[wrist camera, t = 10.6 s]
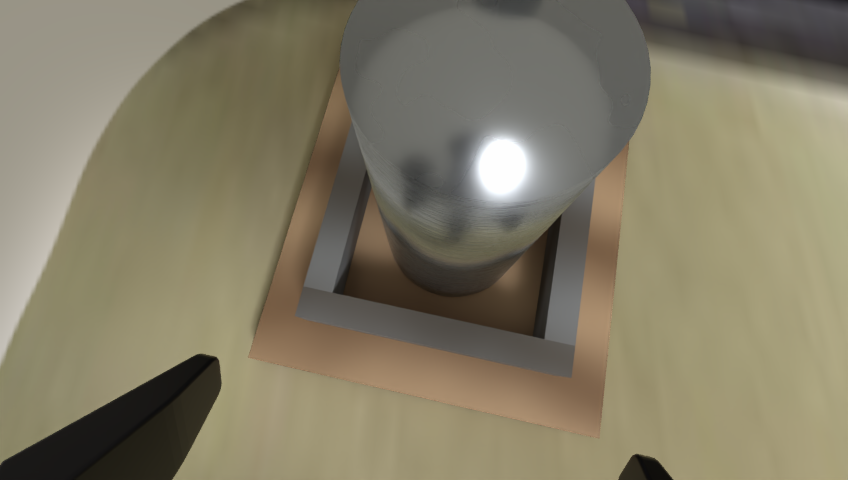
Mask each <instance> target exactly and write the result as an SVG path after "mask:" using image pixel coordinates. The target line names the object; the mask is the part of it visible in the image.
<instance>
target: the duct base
mask: <svg viewBox="0 0 848 480" xmlns="http://www.w3.org/2000/svg"><path fill="white" fill-rule="evenodd" d="M628 147H629V141H628V143H627V144H626V146H625V147H624V148H623V150H622V151H621V152H620V153H619V154H618V155H617V156H616V157H615V158H614V159H613V160H612V161H611V162H610V163H609V165H608V166H607V167H606V168H605V169H604V170H603V171H602V172H601V173H600V174H599V175H598V176H597V177H596V178H595V179H594V180H593V181H592V182H591V183H590V185H589V186H588V187H587V188H586V189H585V190H584V191H583V192H582V193H581V194H580V195H579V196H578V197H577V198H576V199H575V200H574V201H573V202H572V204H571V205H570V206H569V207H568V208H567V209H566V210H565V211H564V212H563V213H562V214H561V215H560V216H559V217H558V218H557V219H556V220H555V221H554V222H553V224H552V225H551V226H550V227H549V228H548V229H547V230H546V231H545V232H544V233H543V234H542V235H541V236H540V237H539V238H538V239H537V240H536V241H535V243H534V244H533V245H532V246H531V247H530V248H529V249H528V250H527V251H526V252H525V253H524V254H523V255H522V256H521V257H520V258H519V259H518V260H517V261H516V263H515V264H514V265H513V266H512V267H511V268H510V269H509V270H508V271H507V272H506V273H505V274H504V275H503V276H502V277H501V278H500V279H499V280H498V281H497V282H496V283H494V284H493V285H492V286H490V287H488V288H487V289H485V290H483V291H481V292H478V293H476V294H472V295H468V296H460V297H448V296H442V295H438V294H434V293H431V292H429V291H426V290H424V289H422V288H421V287H419V286H417V285H416V284H414V283H413V282H412V281H411V280H409V279H408V278H407V277H406V275H405V274H404V273H403V272H402V271H401V269H400V268H399V267H398V265H397V263H396V261H395V260H394V257H393V255H392V252H391V249H390V246H389V242H388V239H387V236H386V232H385V229H384V226H383V222H382V219H381V216H380V212H379V209H378V206H377V202H376V199H375V196H374V192H373V189H372V186H371V182H370V179H369V176H368V172H367V169H366V166H365V162H364V159H363V156H362V152H361V149H360V146H359V142H358V139H357V136H356V132H355V129H354V126H353V122H352V119H351V116H350V112H349V109H348V106H347V102H346V99H345V95H344V91H343V87H342V82H341V74H340V67H339V70H338V73H337V77H336V80H335V83H334V86H333V89H332V92H331V96H330V99H329V102H328V105H327V108H326V111H325V115H324V118H323V121H322V124H321V127H320V131H319V134H318V137H317V140H316V143H315V146H314V150H313V153H312V156H311V159H310V162H309V166H308V169H307V172H306V175H305V178H304V181H303V185H302V188H301V191H300V194H299V197H298V200H297V204H296V207H295V210H294V213H293V216H292V220H291V223H290V226H289V229H288V232H287V235H286V239H285V242H284V245H283V248H282V251H281V254H280V258H279V261H278V264H277V267H276V270H275V274H274V277H273V280H272V283H271V286H270V289H269V293H268V296H267V299H266V302H265V305H264V309H263V312H262V315H261V318H260V321H259V324H258V328H257V331H256V334H255V337H254V340H253V343H252V347H251V350H250V353H249V356H248V358H252V359H256V360H261V361H265V362H269V363H274V364H278V365H282V366H287V367H291V368H295V369H300V370H304V371H308V372H313V373H317V374H321V375H326V376H330V377H334V378H339V379H343V380H347V381H352V382H356V383H360V384H365V385H369V386H373V387H378V388H382V389H386V390H391V391H395V392H399V393H404V394H408V395H412V396H417V397H421V398H425V399H430V400H434V401H438V402H443V403H447V404H451V405H456V406H460V407H465V408H469V409H473V410H478V411H482V412H486V413H491V414H495V415H499V416H504V417H508V418H512V419H517V420H521V421H525V422H530V423H534V424H538V425H543V426H547V427H551V428H556V429H560V430H564V431H569V432H573V433H577V434H582V435H586V436H590V437H595V438H599V436H600V426H601V416H602V406H603V396H604V386H605V376H606V366H607V356H608V346H609V336H610V326H611V316H612V306H613V296H614V286H615V277H616V267H617V257H618V247H619V237H620V227H621V217H622V207H623V197H624V187H625V177H626V167H627V157H628Z"/></svg>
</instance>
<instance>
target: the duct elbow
mask: <svg viewBox="0 0 848 480" xmlns="http://www.w3.org/2000/svg"><path fill="white" fill-rule="evenodd" d="M650 71H651V67H650V60H649V53H648V48H647V44H646V41H645V38H644V34H643V32H642V30H641V27H640V25H639V23H638V21H637V19H636V17H635V15H634V13H633V12H632V10H631V9H630V7H629V6H628V4H627V2H626V1H625V0H358V2H357V4H356V6H355V7H354V9H353V11H352V12H351V15H350V17H349V20H348V22H347V25H346V27H345V30H344V35H343V39H342V43H341V52H340V74H341V82H342V87H343V91H344V95H345V99H346V102H347V106H348V109H349V112H350V116H351V119H352V122H353V126H354V129H355V132H356V136H357V139H358V142H359V146H360V149H361V152H362V156H363V159H364V162H365V166H366V169H367V172H368V176H369V179H370V182H371V186H372V189H373V192H374V196H375V199H376V202H377V206H378V209H379V212H380V216H381V219H382V222H383V226H384V229H385V232H386V236H387V239H388V242H389V246H390V249H391V252H392V255H393V257H394V260H395V261H396V263H397V265H398V267H399V268H400V269H401V271H402V272H403V273H404V274H405V275H406V277H407V278H408V279H409V280H411V281H412V282H413V283H414V284H416V285H417V286H419V287H421V288H422V289H424V290H426V291H429V292H431V293H434V294H438V295H442V296H448V297H460V296H468V295H472V294H476V293H478V292H481V291H483V290H485V289H487V288H488V287H490V286H492V285H493V284H494V283H496V282H497V281H498V280H499V279H500V278H501V277H502V276H503V275H504V274H505V273H506V272H507V271H508V270H509V269H510V268H511V267H512V266H513V265H514V264H515V263H516V261H517V260H518V259H519V258H520V257H521V256H522V255H523V254H524V253H525V252H526V251H527V250H528V249H529V248H530V247H531V246H532V245H533V244H534V243H535V241H536V240H537V239H538V238H539V237H540V236H541V235H542V234H543V233H544V232H545V231H546V230H547V229H548V228H549V227H550V226H551V225H552V224H553V222H554V221H555V220H556V219H557V218H558V217H559V216H560V215H561V214H562V213H563V212H564V211H565V210H566V209H567V208H568V207H569V206H570V205H571V204H572V202H573V201H574V200H575V199H576V198H577V197H578V196H579V195H580V194H581V193H582V192H583V191H584V190H585V189H586V188H587V187H588V186H589V185H590V183H591V182H592V181H593V180H594V179H595V178H596V177H597V176H598V175H599V174H600V173H601V172H602V171H603V170H604V169H605V168H606V167H607V166H608V165H609V163H610V162H611V161H612V160H613V159H614V158H615V157H616V156H617V155H618V154H619V153H620V152H621V151H622V150H623V148H624V147H625V146H626V144H627V143H628V141H629V140H630V139H631V137H632V136H633V135H634V133H635V131H636V129H637V127H638V125H639V123H640V121H641V119H642V116H643V113H644V111H645V108H646V105H647V101H648V95H649V90H650Z"/></svg>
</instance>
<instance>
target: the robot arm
mask: <svg viewBox="0 0 848 480" xmlns="http://www.w3.org/2000/svg"><path fill="white" fill-rule="evenodd" d="M221 384H222V382H221V373H220V364H219V360H218V358H217V357H215V356H210V355H206V354H197V355H195V356H193V357H191V358H189V359H187V360H186V361H184V362H182V363H180V364H178V365H177V366H175V367H173V368H171V369H169V370H167V371H166V372H164V373H162V374H160V375H158V376H157V377H155V378H153V379H151V380H149V381H148V382H146V383H144V384H142V385H140V386H138V387H137V388H135V389H133V390H131V391H129V392H128V393H126V394H124V395H122V396H120V397H119V398H117V399H115V400H113V401H111V402H110V403H108V404H106V405H104V406H102V407H100V408H99V409H97V410H95V411H93V412H91V413H90V414H88V415H86V416H84V417H82V418H81V419H79V420H77V421H75V422H73V423H71V424H70V425H68V426H66V427H64V428H62V429H61V430H59V431H57V432H55V433H53V434H52V435H50V436H48V437H46V438H44V439H42V440H41V441H39V442H37V443H35V444H33V445H32V446H30V447H28V448H26V449H24V450H23V451H21V452H19V453H17V454H15V455H14V456H12V457H10V458H8V459H6V460H4V461H3V462H2V463H1V465H0V480H172V479H173V477H174V476H175V474H176V473H177V471H178V470H179V468H180V466H181V465H182V463H183V462H184V460H185V458H186V456H187V454H188V452H189V451H190V449H191V447H192V445H193V443H194V441H195V439H196V437H197V435H198V433H199V431H200V429H201V428H202V426H203V424H204V422H205V420H206V418H207V416H208V414H209V412H210V410H211V408H212V406H213V404H214V402H215V400H216V399H217V397H218V395H219V392H220V389H221ZM618 480H673V479H672V477H671V476H670V475H669V474H668V472H667V471H666V470H665V469H664V467H663V466H662V465H661V464H660V463H659V462H658V461H657V460H656V459H655V458H652V457H649V456H644V455H640V454H635V455H633V456H632V457H631V458H630V460H629V462H628V463H627V465H626V466H625V468H624V470H623V471H622V473H621V474H620V476H619V479H618Z"/></svg>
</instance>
